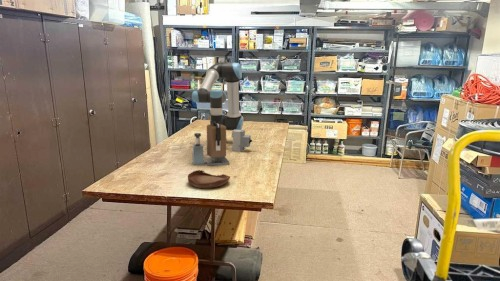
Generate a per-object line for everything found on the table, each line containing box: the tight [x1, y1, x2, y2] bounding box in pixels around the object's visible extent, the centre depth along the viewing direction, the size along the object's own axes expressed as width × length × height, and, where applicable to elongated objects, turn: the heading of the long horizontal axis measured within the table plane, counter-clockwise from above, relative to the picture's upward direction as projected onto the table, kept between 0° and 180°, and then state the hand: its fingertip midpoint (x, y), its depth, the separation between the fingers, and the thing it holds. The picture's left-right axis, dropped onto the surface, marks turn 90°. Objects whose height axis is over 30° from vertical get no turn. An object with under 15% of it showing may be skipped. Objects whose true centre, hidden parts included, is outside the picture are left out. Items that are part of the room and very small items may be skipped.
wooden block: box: [206, 124, 227, 158], centre depth 217 cm, size 10×10×20 cm
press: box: [192, 143, 230, 167], centre depth 218 cm, size 14×22×12 cm, turn 106°
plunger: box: [194, 132, 202, 146], centre depth 214 cm, size 4×4×10 cm
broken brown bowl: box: [187, 169, 231, 189], centre depth 181 cm, size 22×20×5 cm
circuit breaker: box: [231, 129, 253, 153], centre depth 249 cm, size 8×14×15 cm, turn 78°
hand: (216, 148), depth 218 cm, fingers closed on wooden block, 11 cm apart
